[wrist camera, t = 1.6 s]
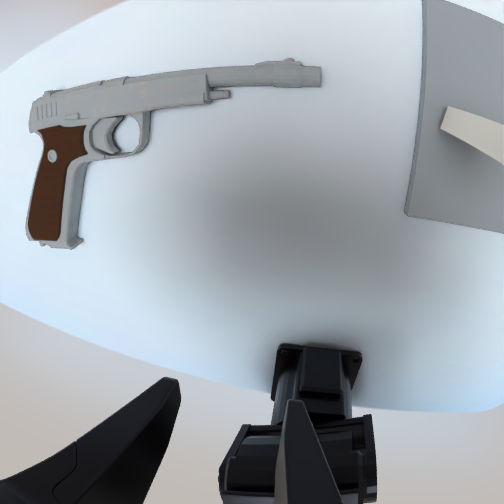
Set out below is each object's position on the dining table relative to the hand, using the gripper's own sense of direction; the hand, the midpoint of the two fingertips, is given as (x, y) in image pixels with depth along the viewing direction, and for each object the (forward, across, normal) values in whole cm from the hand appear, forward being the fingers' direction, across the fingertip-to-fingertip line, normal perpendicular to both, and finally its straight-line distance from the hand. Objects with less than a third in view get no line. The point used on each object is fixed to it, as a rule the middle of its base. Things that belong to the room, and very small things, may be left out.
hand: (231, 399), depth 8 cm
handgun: (+14, +9, -4) cm, 17 cm away
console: (+13, -14, -9) cm, 21 cm away
